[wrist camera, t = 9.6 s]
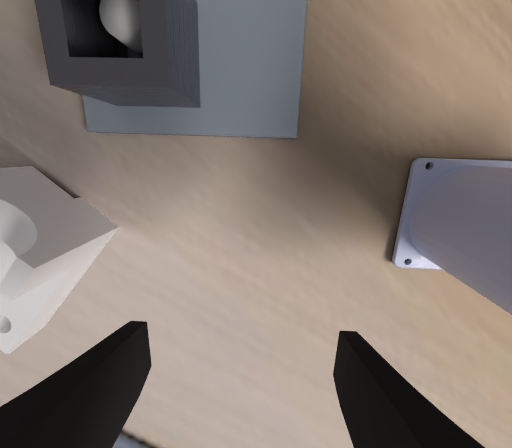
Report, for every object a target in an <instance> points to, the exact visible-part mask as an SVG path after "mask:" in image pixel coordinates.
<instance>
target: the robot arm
mask: <svg viewBox="0 0 512 448" xmlns="http://www.w3.org/2000/svg"><path fill="white" fill-rule="evenodd" d="M428 162H429V163H430V167H429V168H428V169H426V167H425V166H426V164H427V163H428ZM406 259H409V260H408V262H406V263H404V261H405V260H406ZM392 262H393V264H394V265H395V266H397V267H404V268H424V269H443V270H445V271H446V272H448V273H449V274H451V275H452V276H454V277H455V278H457V279H458V280H460V281H461V282H463V283H464V284H466V285H467V286H469V287H471V288H472V289H474V290H475V291H477V292H478V293H480V294H481V295H483V296H484V297H486V298H487V299H489V300H490V301H492V302H493V303H495V304H496V305H498V306H499V307H501V308H502V309H504V310H505V311H507V312H508V313H510V314H511V315H512V161H500V160H470V159H440V158H417V159H415V160H414V161H413V162H412V165H411V169H410V174H409V179H408V184H407V189H406V194H405V199H404V203H403V208H402V213H401V218H400V223H399V228H398V233H397V238H396V242H395V247H394V252H393V257H392ZM150 368H151V356H150V347H149V338H148V329H147V322H142V321H130V322H128V323H127V324H125V325H124V326H122V327H121V328H119V329H118V330H116V331H115V332H114V333H112V334H111V335H109V336H108V337H106V338H105V339H104V340H102V341H101V342H99V343H98V344H97V345H95V346H94V347H92V348H91V349H89V350H88V351H86V352H85V353H84V354H82V355H81V356H79V357H78V358H76V359H75V360H73V361H72V362H71V363H69V364H68V365H66V366H64V367H63V368H61V369H60V370H58V371H57V372H55V373H54V374H52V375H51V376H49V377H48V378H46V379H44V380H43V381H41V382H40V383H38V384H37V385H35V386H34V387H32V388H31V389H29V390H27V391H26V392H24V393H23V394H21V395H19V396H18V397H16V398H14V399H13V400H11V401H9V402H8V403H6V404H4V405H3V406H1V407H0V448H112V447H113V445H114V443H115V441H116V439H117V438H118V436H119V434H120V432H121V430H122V428H123V426H124V424H125V423H126V421H127V419H128V417H129V415H130V413H131V411H132V409H133V407H134V405H135V403H136V402H137V400H138V398H139V396H140V393H141V391H142V388H143V386H144V384H145V381H146V379H147V376H148V373H149V371H150ZM333 377H334V381H335V386H336V391H337V395H338V399H339V403H340V407H341V410H342V413H343V416H344V419H345V422H346V425H347V428H348V431H349V434H350V437H351V440H352V443H353V446H354V448H485V447H483V446H482V445H481V444H480V443H478V442H477V441H476V440H475V439H473V438H472V437H471V436H470V435H468V434H467V433H466V432H465V431H463V430H462V429H461V428H460V427H459V426H457V425H456V424H455V423H454V422H453V421H451V420H450V419H449V418H448V417H447V416H445V415H444V414H443V413H442V412H441V411H440V410H439V409H437V408H436V407H435V406H434V405H433V404H432V403H431V402H429V401H428V400H427V399H426V398H425V397H424V396H423V395H422V394H420V393H419V392H418V391H417V390H416V389H415V388H414V387H413V386H412V385H411V384H410V383H409V382H407V381H406V380H405V379H404V378H403V377H402V376H401V375H400V374H399V373H398V372H397V371H396V370H395V369H394V368H393V367H392V366H391V365H390V364H389V363H388V362H387V361H386V360H385V359H384V358H383V357H382V356H381V355H380V354H379V353H378V352H377V351H376V350H375V349H374V348H373V347H372V346H371V345H370V344H369V343H368V342H367V341H366V340H365V339H364V338H363V337H362V336H361V335H360V334H358V333H357V332H356V331H340V332H339V339H338V345H337V352H336V359H335V365H334V372H333Z"/></svg>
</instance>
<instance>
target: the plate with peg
mask: <svg viewBox="0 0 512 448" xmlns="http://www.w3.org/2000/svg"><path fill="white" fill-rule="evenodd" d="M196 2H197V4H198V37H199V71H200V105H201V108H183V107H144V106H116V105H113V104H110V103H107V102H103V101H100V100H97V99H94V98H91V97H88V96H85V95H82V99H83V105H84V112H85V118H86V125H87V131H89V132H97V133H128V134H161V135H193V136H226V137H258V138H291V139H295V138H297V129H298V115H299V102H300V88H301V75H302V62H303V48H304V35H305V21H306V8H307V0H196ZM99 13H100V18H101V21H102V24H103V25H104V27H105V29H106V30H107V31H108V32H109V33H110V34H111V35H113V36H114V37H115V38H117V39H118V40H119V41H120V42H122V43H123V44H124V45H126V46H127V47H128V57H129V58H143V47H142V35H141V23H140V11H139V1H138V0H101V2H100V6H99Z"/></svg>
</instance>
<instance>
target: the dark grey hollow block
mask: <svg viewBox="0 0 512 448" xmlns="http://www.w3.org/2000/svg"><path fill="white" fill-rule="evenodd" d="M138 1H139V11H140V23H141V35H142V47H143V58H129V57H128V47H127V46H126V45H124V44H123V43H122V42H120V41H119V40H118V39H117V38H115V37H114V36H113V35H111V34H110V33H109V32H108V31H107V30H106V29H105V27H104V25H103V24H102V21H101V18H100V13H99V6H100V2H101V0H35V4H36V9H37V15H38V20H39V25H40V31H41V36H42V42H43V47H44V53H45V58H46V64H47V69H48V75H49V80H50V85H53V86H56V87H59V88H63V89H66V90H69V91H72V92H75V93H78V94H81V95H85V96H88V97H91V98H94V99H97V100H100V101H103V102H107V103H110V104H113V105H116V106H144V107H183V108H201V105H200V71H199V37H198V4H197V2H196V0H138Z"/></svg>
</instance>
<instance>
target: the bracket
mask: <svg viewBox="0 0 512 448" xmlns="http://www.w3.org/2000/svg"><path fill="white" fill-rule="evenodd" d="M118 228H119V227H118V226H117V225H116V224H115V223H113V222H112V221H111V220H109V219H108V218H107V217H106V216H104V215H103V214H102V213H101V212H99V211H98V210H97V209H95V208H94V207H93V206H92V205H90V204H89V203H88V202H86V201H85V200H84V199H83V198H81V197H79V198H75V199H74V198H73V197H71V196H70V195H69V194H68V193H66V192H65V191H64V190H62V189H61V188H60V187H58V186H57V185H56V184H55V183H53V182H52V181H51V180H49V179H48V178H47V177H46V176H44V175H43V174H42V173H40V172H39V171H38V170H36V169H35V168H34V167H33V166H25V167H6V168H0V350H1V351H3V352H5V353H6V354H9V353H11V352H12V351H13V350H15V349H16V348H17V347H18V346H20V345H21V344H22V343H24V342H25V341H26V340H28V339H29V338H30V337H31V336H33V335H34V334H35V333H37V332H38V331H39V330H40V329H42V328H43V327H44V326H45V325H46V324H47V322H48V321H49V320H50V318H51V317H52V316H53V314H54V313H55V312H56V310H57V309H58V308H59V306H60V305H61V304H62V302H63V301H64V300H65V298H66V297H67V296H68V294H69V293H70V292H71V290H72V289H73V288H74V286H75V285H76V284H77V282H78V281H79V280H80V278H81V277H82V276H83V274H84V273H85V272H86V270H87V269H88V268H89V266H90V265H91V264H92V262H93V261H94V260H95V258H96V257H97V256H98V254H99V253H100V252H101V250H102V249H103V248H104V246H105V245H106V244H107V242H108V241H109V240H110V238H111V237H112V236H113V234H114V233H115V232H116V230H117V229H118Z"/></svg>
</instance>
